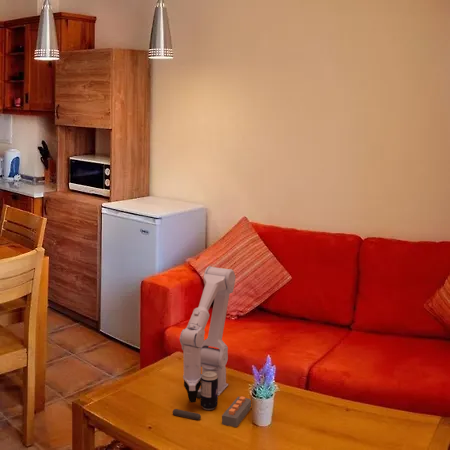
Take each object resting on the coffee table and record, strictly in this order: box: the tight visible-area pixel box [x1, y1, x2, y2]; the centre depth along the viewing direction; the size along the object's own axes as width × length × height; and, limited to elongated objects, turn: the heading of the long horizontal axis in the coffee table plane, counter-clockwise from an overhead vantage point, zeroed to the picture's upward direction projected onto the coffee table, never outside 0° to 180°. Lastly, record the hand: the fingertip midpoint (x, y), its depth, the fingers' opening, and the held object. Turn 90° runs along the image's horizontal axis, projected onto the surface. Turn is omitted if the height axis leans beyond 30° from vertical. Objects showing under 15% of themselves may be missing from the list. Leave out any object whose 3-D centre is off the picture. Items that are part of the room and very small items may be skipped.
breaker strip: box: [221, 396, 251, 428], centre depth 201 cm, size 14×5×4 cm, turn 157°
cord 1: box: [172, 408, 202, 421], centre depth 200 cm, size 2×10×2 cm, turn 68°
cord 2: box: [197, 392, 219, 401], centre depth 213 cm, size 2×10×2 cm, turn 67°
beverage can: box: [200, 371, 219, 411], centre depth 205 cm, size 6×6×12 cm
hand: (192, 401), depth 207 cm, fingers closed
